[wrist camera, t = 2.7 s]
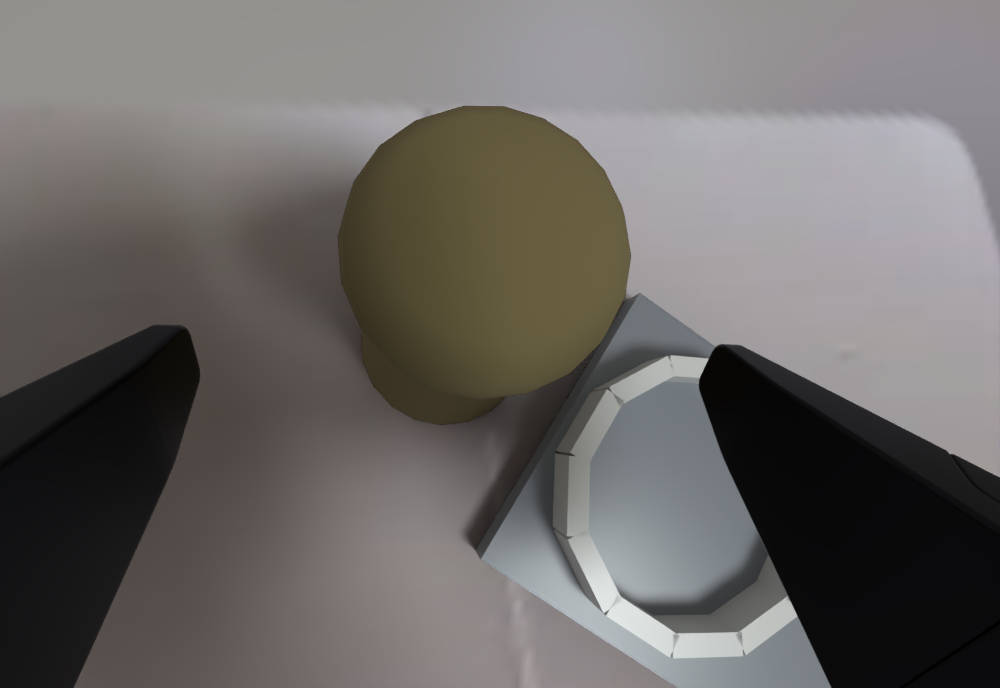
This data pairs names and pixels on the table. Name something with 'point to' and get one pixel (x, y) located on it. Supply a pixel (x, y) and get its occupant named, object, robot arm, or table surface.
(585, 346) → the olive pawn
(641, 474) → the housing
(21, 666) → the robot arm
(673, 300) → the table surface
